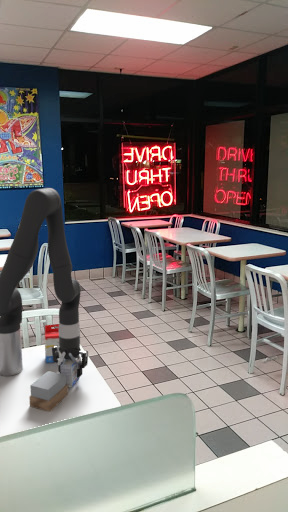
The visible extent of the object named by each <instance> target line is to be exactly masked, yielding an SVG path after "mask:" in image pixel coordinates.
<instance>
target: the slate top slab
mask: <svg viewBox="0 0 288 512" xmlns="http://www.w3.org/2000/svg"><path fill="white" fill-rule="evenodd" d="M64 386H65V375H63V374H60V373H59V372H58V373H57V372H54V371H48V370H47V371H46V372H45V373H44V374H43V375H41V376H40V377H39V378H38V379H36V380H35V381H34V382H33V383H31V384H30V387H29V388H30V396H32V397H36V398H40V399H44V400H47V401H49V400H50V399H51V398H52V397H53V396H55V395H56V394H57V393H58V392H59V391H60V390H61V389H62V388H63V387H64Z"/></svg>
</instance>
